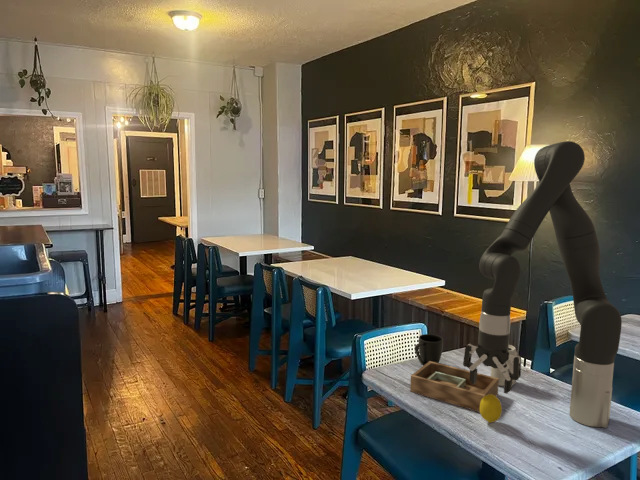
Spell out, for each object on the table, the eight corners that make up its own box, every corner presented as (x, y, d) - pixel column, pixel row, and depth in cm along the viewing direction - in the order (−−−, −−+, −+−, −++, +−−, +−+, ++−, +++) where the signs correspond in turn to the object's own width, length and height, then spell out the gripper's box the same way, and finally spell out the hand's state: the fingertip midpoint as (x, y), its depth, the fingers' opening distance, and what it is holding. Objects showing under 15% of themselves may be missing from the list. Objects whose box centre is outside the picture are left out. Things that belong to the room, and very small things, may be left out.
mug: (405, 366, 163) (406, 339, 162) (428, 357, 171) (429, 332, 169) (424, 374, 157) (425, 346, 156) (447, 365, 164) (448, 338, 163)
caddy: (497, 394, 143) (498, 378, 142) (483, 413, 132) (484, 396, 131) (429, 375, 156) (429, 361, 155) (410, 391, 145) (410, 375, 144)
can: (511, 390, 146) (514, 352, 144) (487, 383, 150) (489, 347, 148) (518, 381, 152) (520, 345, 150) (494, 375, 156) (496, 340, 154)
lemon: (502, 420, 128) (504, 392, 127) (498, 430, 123) (500, 401, 122) (481, 415, 131) (482, 387, 129) (476, 424, 126) (478, 396, 125)
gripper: (527, 331, 122) (521, 390, 125) (472, 319, 131) (468, 375, 133) (519, 339, 116) (513, 401, 119) (462, 326, 125) (458, 384, 127)
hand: (489, 387), depth 126 cm, fingers open, 8 cm apart
